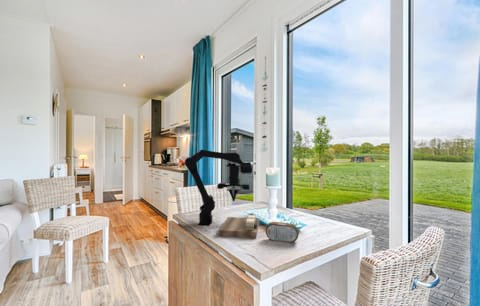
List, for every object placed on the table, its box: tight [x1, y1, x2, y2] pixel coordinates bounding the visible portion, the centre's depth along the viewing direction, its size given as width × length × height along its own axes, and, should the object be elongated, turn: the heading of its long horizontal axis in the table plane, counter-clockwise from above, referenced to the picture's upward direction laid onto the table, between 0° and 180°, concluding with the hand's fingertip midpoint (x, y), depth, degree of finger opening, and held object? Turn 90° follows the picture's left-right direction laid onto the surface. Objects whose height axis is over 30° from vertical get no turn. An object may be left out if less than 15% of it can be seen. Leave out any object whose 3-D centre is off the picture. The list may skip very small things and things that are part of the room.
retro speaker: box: [265, 221, 300, 244], centre depth 108 cm, size 15×3×8 cm, turn 74°
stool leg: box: [246, 212, 257, 230], centre depth 121 cm, size 16×4×4 cm, turn 172°
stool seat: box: [218, 216, 260, 240], centre depth 123 cm, size 18×22×5 cm
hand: (233, 200), depth 137 cm, fingers closed
